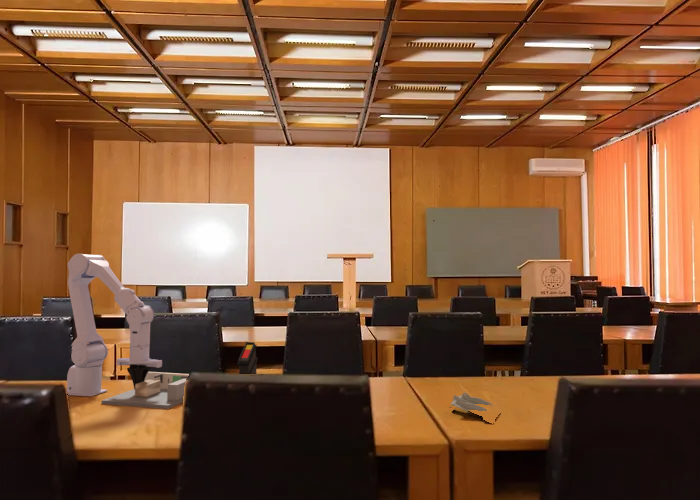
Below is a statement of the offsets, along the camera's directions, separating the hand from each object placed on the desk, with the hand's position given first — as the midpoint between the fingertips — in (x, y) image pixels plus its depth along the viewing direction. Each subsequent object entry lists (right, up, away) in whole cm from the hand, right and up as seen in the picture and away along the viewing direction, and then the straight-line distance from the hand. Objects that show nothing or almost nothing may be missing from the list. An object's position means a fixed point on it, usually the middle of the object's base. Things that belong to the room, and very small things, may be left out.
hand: (138, 389), depth 157 cm
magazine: (+31, -4, +14) cm, 34 cm away
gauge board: (+6, -2, -1) cm, 6 cm away
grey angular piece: (+101, -4, -14) cm, 102 cm away
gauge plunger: (+4, -1, +1) cm, 4 cm away
